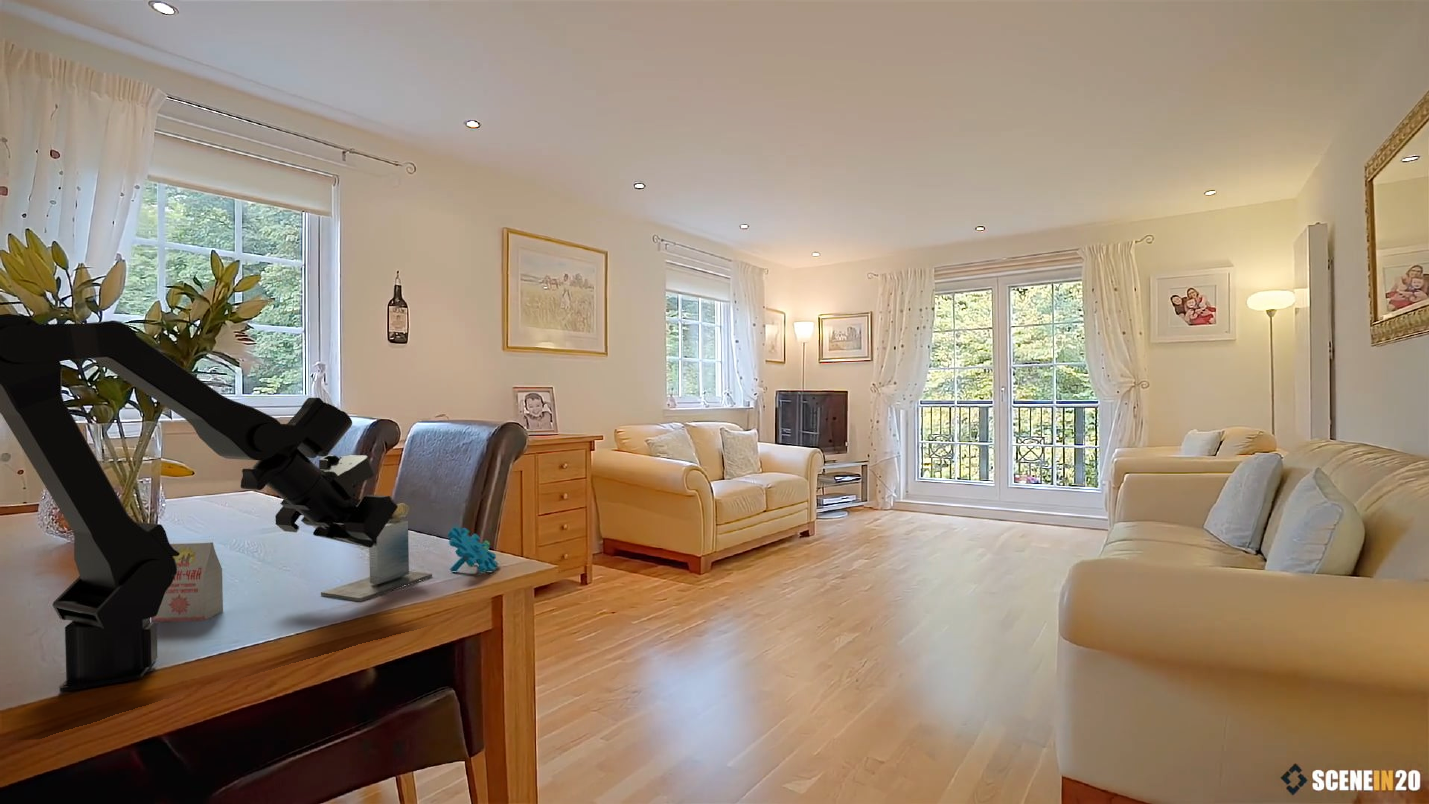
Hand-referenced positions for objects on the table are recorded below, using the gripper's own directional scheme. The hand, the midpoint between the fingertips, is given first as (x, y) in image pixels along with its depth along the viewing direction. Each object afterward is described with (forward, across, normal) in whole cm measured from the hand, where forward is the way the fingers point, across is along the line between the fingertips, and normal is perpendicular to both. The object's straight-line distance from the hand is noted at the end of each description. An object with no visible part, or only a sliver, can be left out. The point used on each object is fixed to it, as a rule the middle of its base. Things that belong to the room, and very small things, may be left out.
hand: (371, 544), depth 102 cm
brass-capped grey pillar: (+7, +1, +3) cm, 8 cm away
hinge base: (+6, +1, +4) cm, 7 cm away
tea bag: (-8, +14, +18) cm, 23 cm away
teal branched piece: (+15, -7, -5) cm, 17 cm away
